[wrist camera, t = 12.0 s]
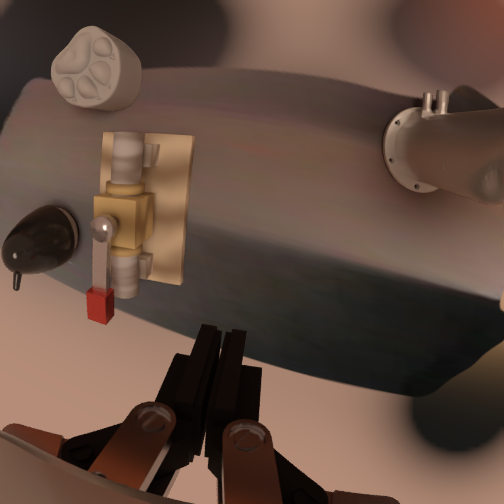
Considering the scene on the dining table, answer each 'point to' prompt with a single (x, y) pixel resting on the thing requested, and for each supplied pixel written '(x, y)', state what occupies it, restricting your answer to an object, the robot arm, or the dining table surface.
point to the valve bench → (163, 200)
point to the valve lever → (101, 270)
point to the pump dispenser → (39, 242)
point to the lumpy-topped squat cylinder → (97, 71)
